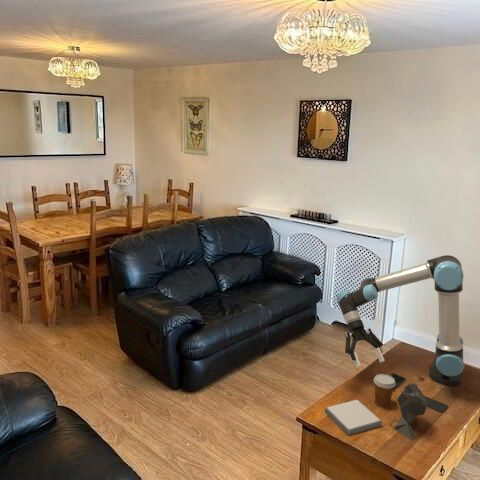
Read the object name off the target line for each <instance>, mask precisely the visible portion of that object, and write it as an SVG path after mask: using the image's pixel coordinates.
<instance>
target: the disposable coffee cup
mask: <svg viewBox="0 0 480 480" xmlns="http://www.w3.org/2000/svg"><path fill="white" fill-rule="evenodd" d="M389 375H390V374H384V373H379V374H376V375H375V376H374V378H373V382H374V402H375V404H376V405H377V406H379V407H389V405H390V404H391V399H392V396H393V392H394V390H395V389H394V386H395V384H396V383H395V380H394V378H393V377H391V376H389ZM393 389H394V390H393Z"/></svg>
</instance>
